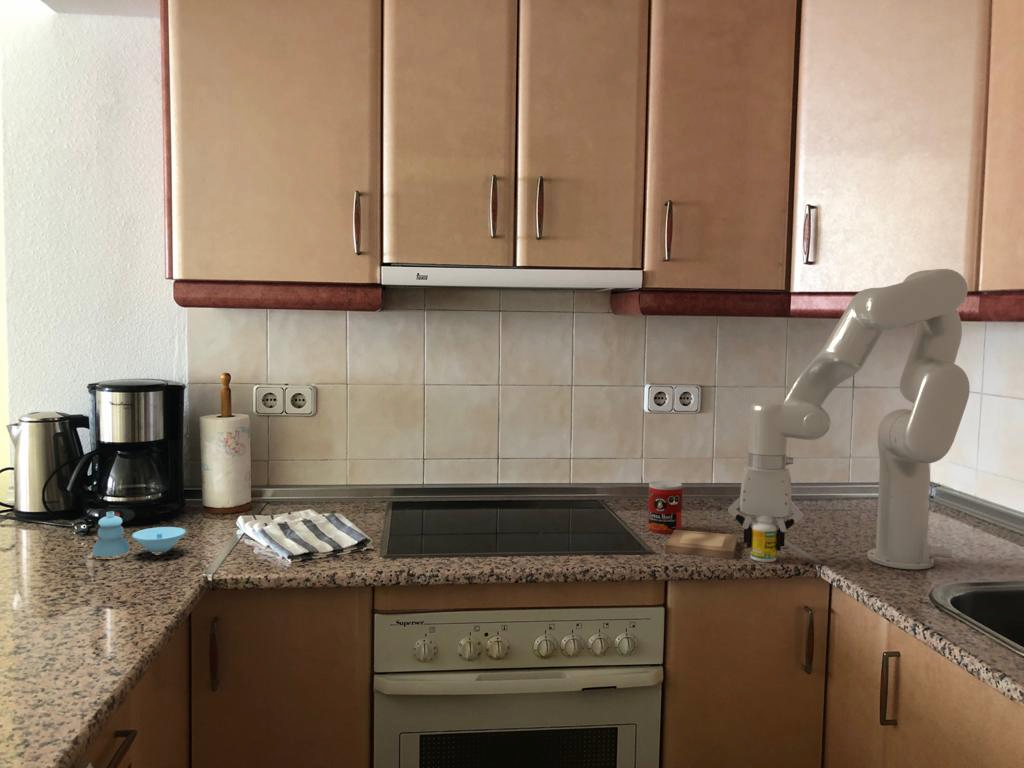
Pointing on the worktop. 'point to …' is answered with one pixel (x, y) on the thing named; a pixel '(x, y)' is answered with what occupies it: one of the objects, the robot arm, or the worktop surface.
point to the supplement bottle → (764, 539)
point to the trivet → (702, 543)
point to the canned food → (664, 506)
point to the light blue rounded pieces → (149, 538)
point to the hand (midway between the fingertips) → (763, 547)
